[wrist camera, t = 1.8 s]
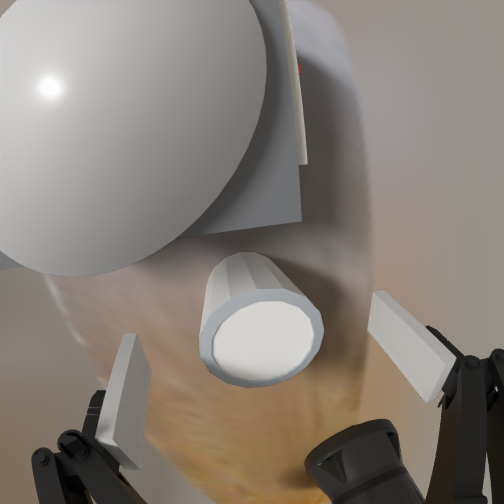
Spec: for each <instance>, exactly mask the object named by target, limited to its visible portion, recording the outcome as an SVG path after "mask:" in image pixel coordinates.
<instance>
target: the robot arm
mask: <svg viewBox="0 0 504 504" xmlns="http://www.w3.org/2000/svg"><path fill="white" fill-rule="evenodd" d="M367 330H368V332H369V333H370V334H371V335H372V336H373V338H374V339H375V340H376V341H377V342H378V344H379V345H380V346H381V347H382V349H383V350H384V351H385V352H386V353H387V355H388V356H389V357H390V358H391V360H392V361H393V362H394V363H395V365H396V366H397V367H398V368H399V369H400V371H401V372H402V373H403V375H404V376H405V377H406V378H407V379H408V381H409V382H410V383H411V385H412V386H413V387H414V388H415V390H416V391H417V392H418V394H419V395H420V396H421V397H422V399H423V400H424V401H425V403H428V402H430V401H432V400H433V399H435V398H437V397H438V394H439V393H440V391H441V389H442V391H443V392H444V395H443V397H442V399H441V401H440V402H439V404H438V408H439V407H440V405H441V404H442V413H441V423H440V431H439V438H438V445H437V451H436V457H435V462H434V467H433V472H432V476H431V481H430V485H429V489H428V493H427V496H426V500H425V499H424V498H423V496H422V494H421V492H420V491H419V489H418V487H417V486H416V484H415V483H414V481H413V479H412V477H411V476H410V474H409V473H408V471H407V469H406V468H405V466H404V464H403V461H402V455H401V449H400V444H399V438H398V433H397V431H396V429H395V427H394V426H393V424H392V423H391V422H390V421H389V420H387V419H376V420H371V421H367V422H364V423H361V424H358V425H356V426H353V427H351V428H349V429H347V430H344V431H342V432H340V433H338V434H337V435H335V436H333V437H331V438H330V439H328V440H326V441H325V442H323V443H322V444H320V445H319V446H318V447H316V448H315V449H314V450H313V451H312V452H311V453H310V454H309V455H308V456H307V458H306V459H305V462H304V465H305V468H306V470H307V473H308V475H309V477H310V478H311V479H312V480H313V481H314V482H315V484H316V485H317V486H318V487H319V488H320V489H321V490H322V491H323V492H324V493H325V494H326V495H327V496H328V497H329V499H330V500H331V502H332V504H487V503H488V500H487V497H486V496H484V495H483V494H482V489H483V481H484V473H485V463H486V451H487V457H488V464H489V471H490V479H491V491H492V504H504V350H503V349H495V350H493V351H492V353H491V355H490V357H489V358H486V359H481V360H480V359H479V358H477V357H475V356H472V355H467V356H464V355H463V354H462V353H461V352H460V351H459V350H458V349H457V348H456V347H455V346H453V345H452V344H451V343H450V342H449V341H447V339H446V338H445V337H444V336H442V334H441V333H440V332H439V331H438V330H436V329H434V328H432V327H430V326H426V327H424V326H423V325H422V324H421V323H420V322H419V321H418V320H417V319H416V318H415V317H414V316H412V315H411V314H410V313H409V312H408V311H407V310H406V309H405V308H404V307H403V306H401V305H400V304H399V303H398V302H397V301H396V300H395V299H394V298H393V297H391V296H390V295H389V294H388V293H387V292H385V290H380V291H376V292H373V295H372V303H371V309H370V316H369V322H368V328H367ZM151 371H152V370H151V367H150V365H149V363H148V360H147V358H146V356H145V353H144V351H143V348H142V346H141V343H140V341H139V338H138V335H137V333H132V334H124V335H123V338H122V341H121V344H120V347H119V350H118V353H117V356H116V359H115V363H114V366H113V369H112V373H111V376H110V380H109V383H108V387H107V390H97V391H96V393H95V394H94V395H93V396H92V398H91V401H90V404H89V408H88V411H87V416H86V418H85V422H84V426H83V429H82V433H81V432H80V431H77V430H67V431H65V432H63V433H62V434H61V435H60V437H59V438H58V443H57V445H58V449H59V450H60V451H61V452H59V453H53V452H52V451H51V450H50V449H48V448H45V447H44V448H39V449H37V450H36V451H35V452H34V453H33V455H32V461H31V462H32V469H33V475H34V480H35V485H36V490H37V495H38V499H39V503H40V504H93V502H92V499H91V497H90V495H91V496H92V498H93V499H94V500H95V502H96V503H97V504H147V503H146V502H145V501H144V500H143V498H142V497H141V496H140V495H139V494H138V493H137V492H136V491H135V489H134V488H133V487H132V486H131V485H130V483H129V482H128V481H127V480H126V479H125V477H124V476H123V475H122V474H121V473H120V472H119V465H121V466H122V467H123V468H124V469H130V470H141V462H142V449H143V437H144V427H145V417H146V409H147V400H148V393H149V385H150V378H151ZM496 386H497V389H498V391H496V390H495V387H496ZM89 493H90V494H89Z"/></svg>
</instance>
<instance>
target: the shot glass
mask: <svg viewBox="0 0 504 504" xmlns="http://www.w3.org/2000/svg"><path fill="white" fill-rule="evenodd" d="M323 334H324V327H323V323H322V318H321V314H320V312H319V311H318V309H317V308H316V307H315V306H314V305H313V304H312V303H311V302H310V301H309V299H308V298H307V297H306V296H305V295H304V294H303V293H302V292H301V291H300V290H299V289H298V288H297V287H296V286H295V285H294V284H293V283H292V282H291V281H290V280H289V278H288V277H287V276H286V275H285V274H284V273H283V272H282V271H281V270H280V269H279V268H278V267H277V266H276V265H275V264H274V263H273V262H272V261H271V260H270V259H269V258H267V257H265V256H263V255H260V254H258V253H256V252H239V253H236V254H233V255H231V256H228V257H225V258H224V259H223V260H222V261H221V262H220V263H218V264H217V265H216V266H215V267H214V268H213V270H212V272H211V275H210V277H209V279H208V282H207V288H206V294H205V301H204V307H203V314H202V321H201V328H200V335H199V340H200V357H201V358H202V360H203V362H204V363H205V365H206V367H207V368H208V370H209V372H210V373H212V374H213V375H215V376H216V377H218V378H219V379H221V380H222V381H224V382H226V383H228V384H233V385H237V386H241V387H246V388H251V387H265V386H271V385H274V384H276V383H279V382H282V381H285V380H287V379H290V378H291V377H293V376H294V375H296V374H297V373H298V372H300V371H301V370H302V369H304V368H305V367H307V366H308V364H309V363H310V362H311V360H312V359H313V358H314V356H315V355H316V354H317V352H318V351H319V349H320V345H321V342H322V338H323Z"/></svg>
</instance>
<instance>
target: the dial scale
mask: <svg viewBox="0 0 504 504" xmlns="http://www.w3.org/2000/svg"><path fill="white" fill-rule="evenodd" d="M299 74H301V67H300V64H297V57H296V50H295V43H294V37H293V31H292V25H291V19H290V13H289V8H288V2H287V0H17V1H16V2H15V3H14V4H13V5H12V6H11V7H10V8H9V9H8V10H7V11H6V12H5V13H4V14H3V16H2V17H1V18H0V270H5V269H10V268H15V267H19V266H26V267H28V268H31V269H33V270H36V271H39V272H43V273H47V274H51V275H57V276H69V277H78V276H92V275H97V274H102V273H106V272H111V271H115V270H118V269H120V268H123V267H125V266H128V265H131V264H133V263H136V262H138V261H140V260H142V259H144V258H145V257H147V256H149V255H151V254H153V253H155V252H157V251H158V250H160V249H161V248H162V247H164V246H165V245H167V244H168V243H170V242H171V241H172V240H174V239H179V238H186V237H193V236H199V235H206V234H213V233H220V232H227V231H234V230H241V229H248V228H255V227H263V226H270V225H278V224H285V223H293V222H301V221H302V214H301V195H300V179H299V165H304V164H308V163H307V150H306V137H305V126H304V116H303V106H302V97H301V88H300V80H299Z"/></svg>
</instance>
